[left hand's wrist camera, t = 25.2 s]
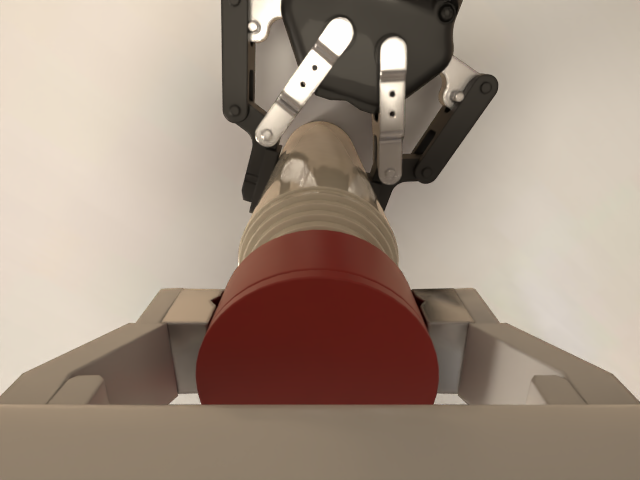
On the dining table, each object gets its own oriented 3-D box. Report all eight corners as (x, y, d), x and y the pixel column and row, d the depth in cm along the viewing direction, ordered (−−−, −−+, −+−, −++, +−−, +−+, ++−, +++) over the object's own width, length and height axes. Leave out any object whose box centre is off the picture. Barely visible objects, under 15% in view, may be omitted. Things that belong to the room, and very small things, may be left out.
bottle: (296, 110, 28) (231, 215, 7) (366, 135, 28) (482, 297, 8) (274, 179, 29) (173, 419, 9) (340, 202, 30) (383, 473, 10)
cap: (310, 186, 9) (307, 223, 7) (453, 312, 10) (490, 379, 8) (184, 322, 10) (146, 392, 8) (323, 421, 11) (324, 505, 9)
